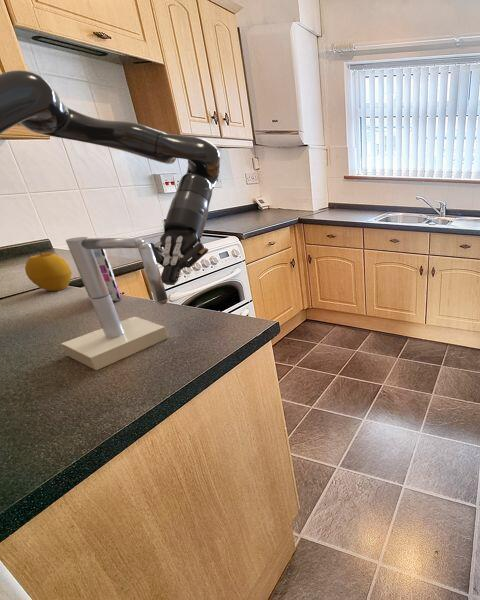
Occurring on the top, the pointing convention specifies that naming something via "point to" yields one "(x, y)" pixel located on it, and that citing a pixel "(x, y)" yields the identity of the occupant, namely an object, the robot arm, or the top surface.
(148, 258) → the spout
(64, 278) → the yellow fruit
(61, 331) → the top surface
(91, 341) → the tap stand
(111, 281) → the candy bar box
